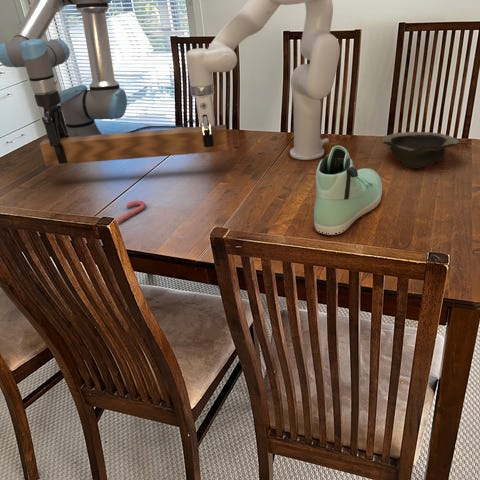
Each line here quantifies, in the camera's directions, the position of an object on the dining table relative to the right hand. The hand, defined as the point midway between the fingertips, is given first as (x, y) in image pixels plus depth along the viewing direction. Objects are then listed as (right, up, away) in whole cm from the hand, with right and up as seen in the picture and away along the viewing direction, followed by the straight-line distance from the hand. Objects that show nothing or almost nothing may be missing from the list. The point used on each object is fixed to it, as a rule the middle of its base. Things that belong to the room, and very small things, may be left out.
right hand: (208, 143), depth 164 cm
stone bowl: (+72, -5, +2) cm, 72 cm away
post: (-25, -4, +1) cm, 25 cm away
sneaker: (+42, -24, -25) cm, 55 cm away
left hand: (-50, -6, +1) cm, 50 cm away
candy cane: (-24, -26, -19) cm, 40 cm away
